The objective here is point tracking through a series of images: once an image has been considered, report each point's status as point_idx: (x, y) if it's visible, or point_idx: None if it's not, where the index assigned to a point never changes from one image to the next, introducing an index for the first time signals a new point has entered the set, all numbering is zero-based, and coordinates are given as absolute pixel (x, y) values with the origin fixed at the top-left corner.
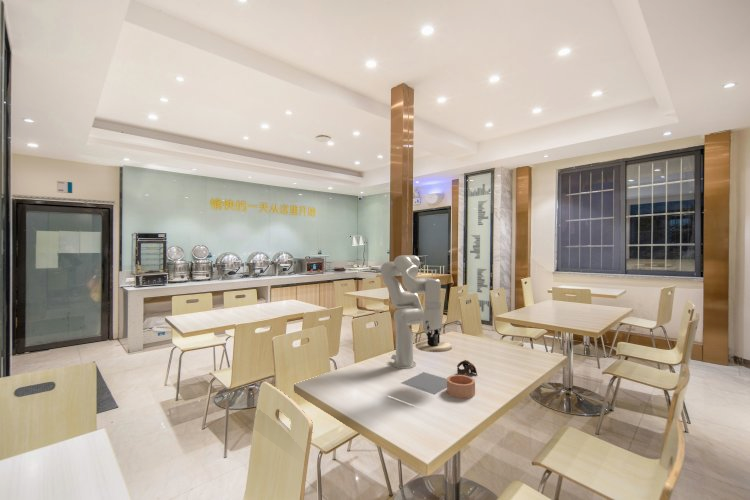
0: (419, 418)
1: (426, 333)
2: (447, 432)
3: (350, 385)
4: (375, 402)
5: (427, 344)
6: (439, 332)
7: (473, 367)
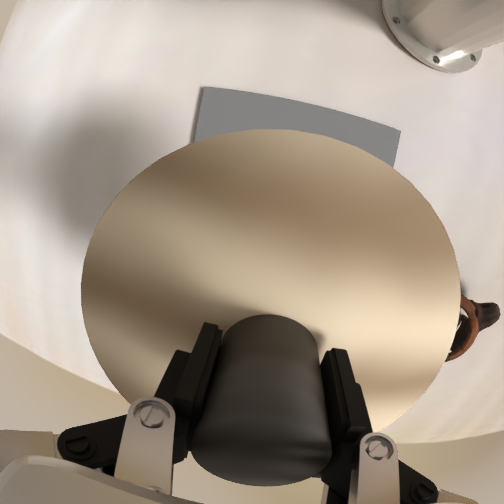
0: (42, 278)
1: (62, 438)
2: (49, 344)
3: None
4: (36, 121)
5: (269, 288)
6: (344, 499)
7: (460, 345)
